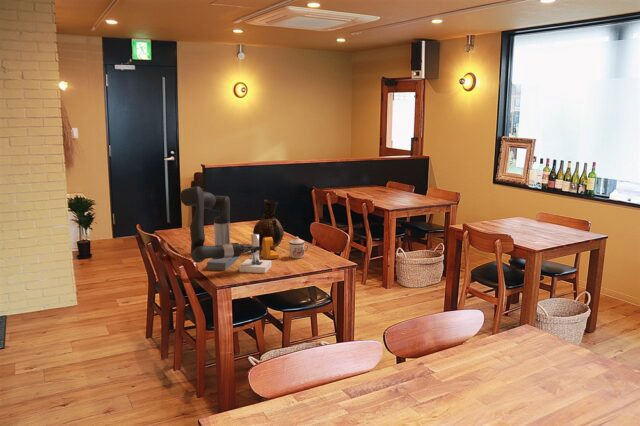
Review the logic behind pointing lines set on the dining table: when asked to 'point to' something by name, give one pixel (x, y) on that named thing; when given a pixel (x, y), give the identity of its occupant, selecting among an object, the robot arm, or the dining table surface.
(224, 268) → the gray rectangular block
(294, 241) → the teacup with lid
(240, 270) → the cradle
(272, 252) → the bracket
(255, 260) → the axle
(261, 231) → the ceramic vessel
